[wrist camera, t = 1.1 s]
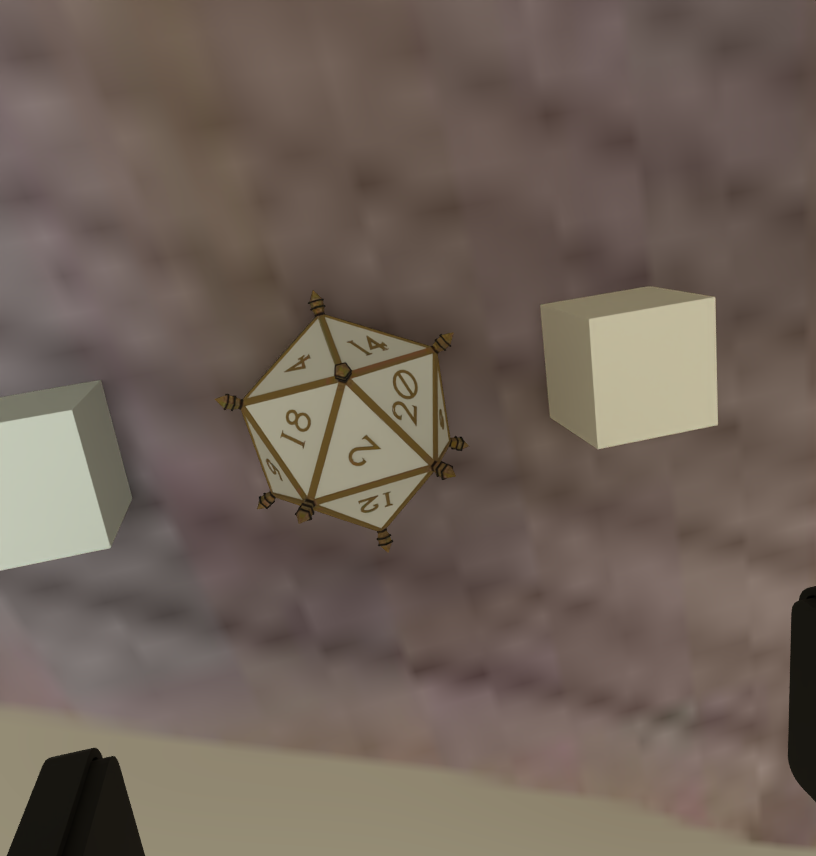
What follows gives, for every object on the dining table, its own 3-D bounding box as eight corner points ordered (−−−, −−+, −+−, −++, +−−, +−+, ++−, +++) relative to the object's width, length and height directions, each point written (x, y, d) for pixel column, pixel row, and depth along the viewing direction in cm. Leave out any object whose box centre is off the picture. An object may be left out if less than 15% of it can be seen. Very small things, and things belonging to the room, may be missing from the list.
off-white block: (648, 286, 33) (715, 296, 28) (653, 396, 34) (717, 425, 29) (539, 304, 32) (588, 319, 27) (549, 417, 33) (597, 449, 29)
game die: (303, 348, 34) (266, 210, 25) (483, 403, 33) (516, 282, 24) (224, 533, 31) (148, 455, 22) (420, 599, 30) (430, 548, 21)
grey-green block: (101, 379, 29) (72, 409, 25) (132, 497, 31) (110, 548, 26) (-35, 402, 29) (-92, 439, 24) (4, 522, 30) (-43, 579, 25)
